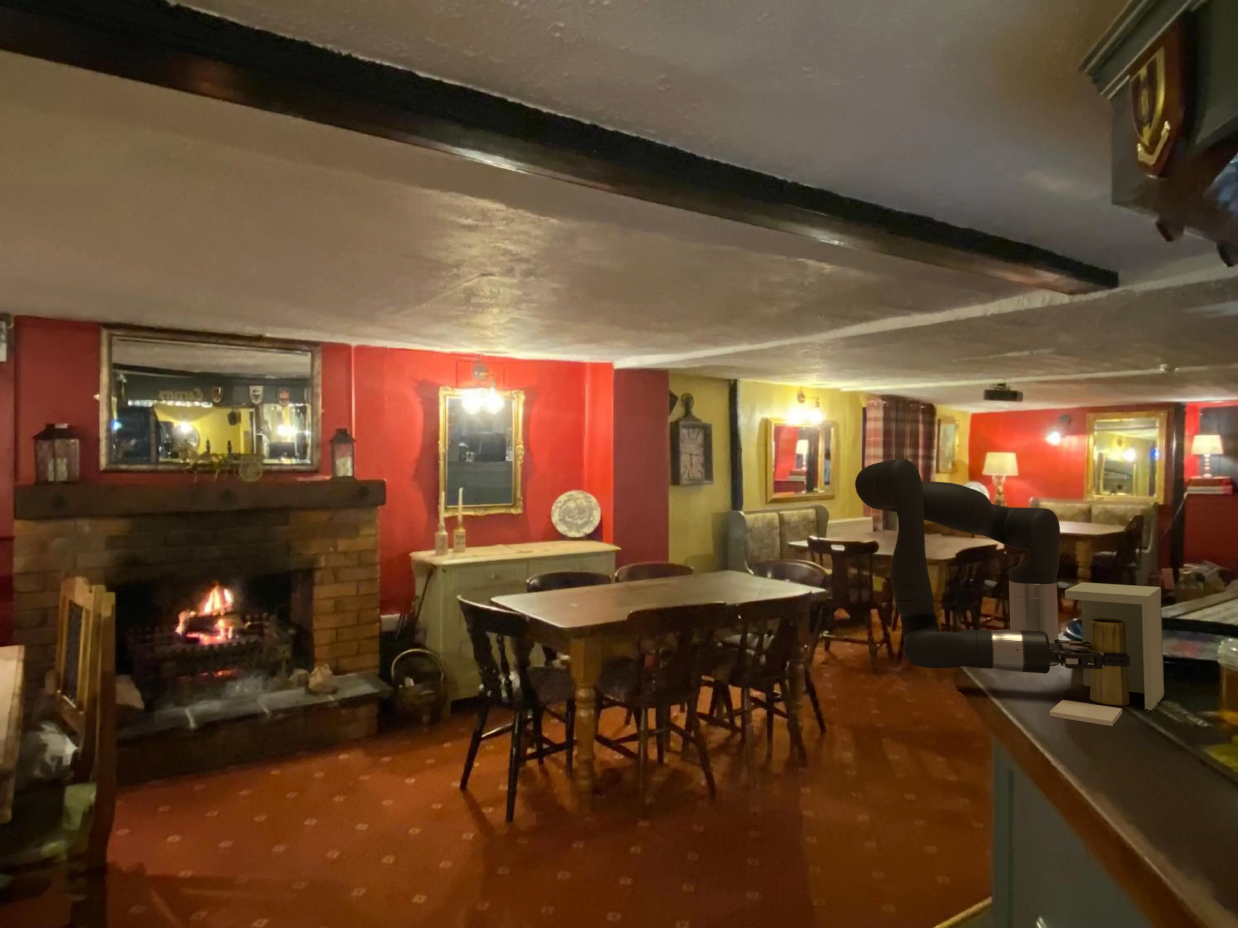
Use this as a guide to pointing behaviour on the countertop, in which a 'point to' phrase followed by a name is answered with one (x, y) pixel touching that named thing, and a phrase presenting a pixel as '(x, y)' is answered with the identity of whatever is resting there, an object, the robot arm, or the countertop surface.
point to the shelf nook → (1128, 630)
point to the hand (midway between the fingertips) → (1124, 656)
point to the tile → (1086, 712)
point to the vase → (1111, 679)
